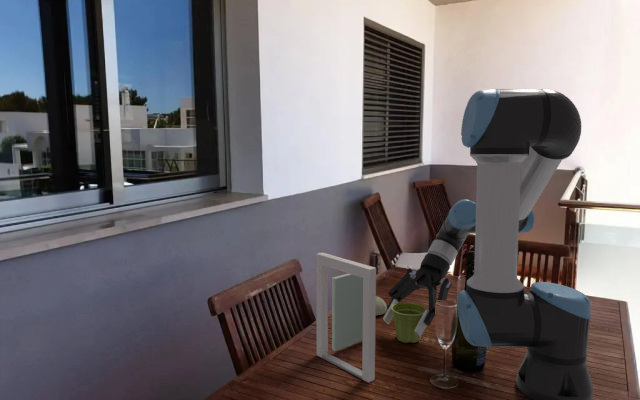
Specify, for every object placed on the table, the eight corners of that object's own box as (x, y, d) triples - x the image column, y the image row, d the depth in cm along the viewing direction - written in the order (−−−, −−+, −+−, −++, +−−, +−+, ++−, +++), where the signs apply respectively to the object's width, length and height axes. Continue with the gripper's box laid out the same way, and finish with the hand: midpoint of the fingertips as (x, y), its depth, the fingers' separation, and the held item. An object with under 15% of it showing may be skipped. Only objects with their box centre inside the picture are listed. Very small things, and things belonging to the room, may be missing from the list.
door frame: (374, 379, 114) (376, 267, 110) (368, 382, 113) (369, 269, 109) (322, 352, 128) (322, 252, 124) (316, 355, 126) (316, 253, 122)
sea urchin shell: (389, 301, 159) (387, 290, 153) (386, 324, 155) (384, 314, 148) (361, 298, 162) (357, 287, 155) (357, 321, 157) (354, 311, 151)
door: (364, 333, 137) (365, 266, 134) (371, 336, 135) (372, 268, 132) (328, 348, 128) (328, 276, 125) (335, 351, 126) (335, 278, 123)
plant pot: (401, 328, 142) (402, 299, 141) (431, 337, 136) (432, 307, 135) (384, 339, 135) (384, 309, 134) (415, 349, 129) (415, 317, 128)
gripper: (479, 276, 135) (442, 348, 127) (412, 259, 152) (376, 322, 144) (468, 260, 131) (430, 334, 123) (401, 245, 147) (363, 308, 140)
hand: (401, 327), depth 133 cm, fingers open, 10 cm apart
